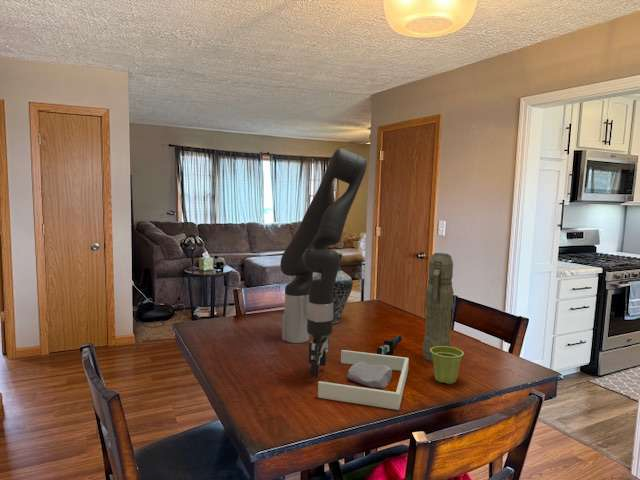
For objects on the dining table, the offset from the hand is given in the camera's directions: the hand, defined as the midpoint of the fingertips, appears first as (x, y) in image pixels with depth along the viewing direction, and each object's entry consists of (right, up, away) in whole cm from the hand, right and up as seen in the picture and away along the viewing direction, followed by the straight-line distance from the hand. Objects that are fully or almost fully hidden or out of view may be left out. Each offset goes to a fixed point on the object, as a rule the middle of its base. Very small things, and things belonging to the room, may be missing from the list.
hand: (318, 370), depth 129 cm
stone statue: (+39, -1, +17) cm, 43 cm away
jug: (+4, +3, +58) cm, 58 cm away
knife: (+25, 0, +24) cm, 35 cm away
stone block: (+14, -3, -2) cm, 15 cm away
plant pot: (+37, -3, -1) cm, 37 cm away
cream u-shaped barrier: (+13, -2, -4) cm, 14 cm away
